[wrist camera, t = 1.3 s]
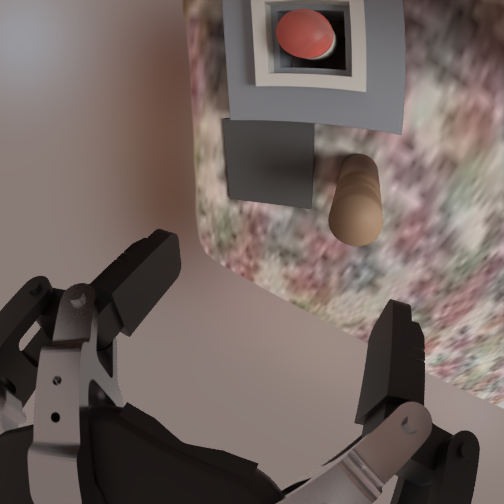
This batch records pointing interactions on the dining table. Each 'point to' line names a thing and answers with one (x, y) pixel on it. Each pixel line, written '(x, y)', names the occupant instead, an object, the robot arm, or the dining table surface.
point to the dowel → (357, 202)
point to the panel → (316, 79)
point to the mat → (270, 161)
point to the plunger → (306, 35)
